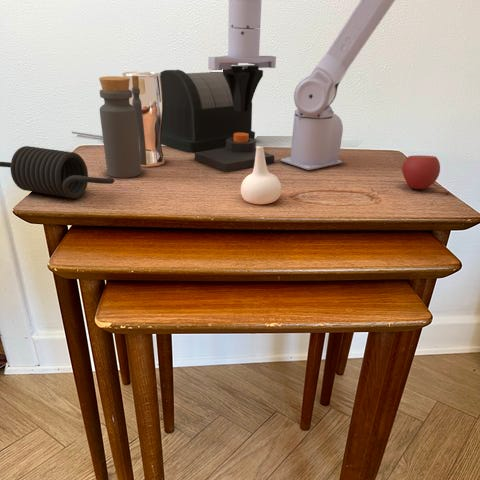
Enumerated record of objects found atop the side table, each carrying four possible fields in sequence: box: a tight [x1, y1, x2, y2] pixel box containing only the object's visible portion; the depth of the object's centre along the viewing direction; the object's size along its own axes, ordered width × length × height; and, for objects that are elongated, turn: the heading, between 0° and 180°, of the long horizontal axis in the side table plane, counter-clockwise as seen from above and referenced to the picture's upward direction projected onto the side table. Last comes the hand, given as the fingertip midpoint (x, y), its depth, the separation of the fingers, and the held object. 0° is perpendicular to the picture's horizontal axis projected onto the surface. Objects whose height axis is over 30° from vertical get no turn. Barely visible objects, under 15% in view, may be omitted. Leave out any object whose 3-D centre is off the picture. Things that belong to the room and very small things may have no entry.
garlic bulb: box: [240, 145, 282, 205], centre depth 69 cm, size 6×6×8 cm
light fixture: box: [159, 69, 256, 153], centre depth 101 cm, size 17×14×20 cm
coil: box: [0, 145, 115, 200], centre depth 69 cm, size 7×20×9 cm
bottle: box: [98, 75, 142, 179], centre depth 77 cm, size 6×6×15 cm
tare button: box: [233, 133, 249, 142], centre depth 92 cm, size 3×3×2 cm
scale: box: [194, 137, 275, 173], centre depth 90 cm, size 13×11×3 cm
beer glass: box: [121, 71, 165, 168], centre depth 83 cm, size 7×7×15 cm
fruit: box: [401, 155, 449, 195], centre depth 77 cm, size 6×6×8 cm
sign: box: [71, 131, 103, 139], centre depth 102 cm, size 5×1×15 cm
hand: (241, 111), depth 89 cm, fingers closed
